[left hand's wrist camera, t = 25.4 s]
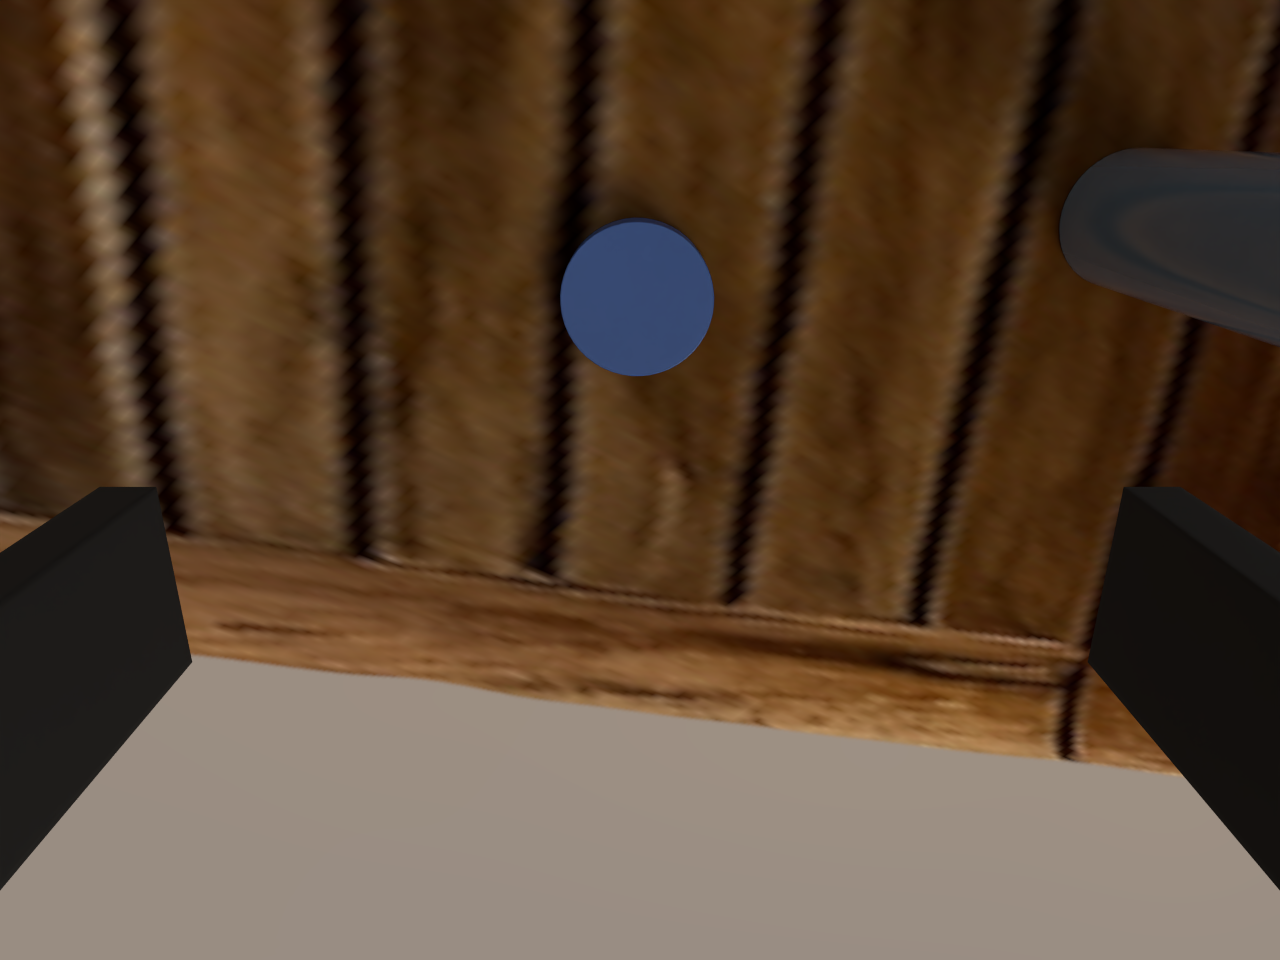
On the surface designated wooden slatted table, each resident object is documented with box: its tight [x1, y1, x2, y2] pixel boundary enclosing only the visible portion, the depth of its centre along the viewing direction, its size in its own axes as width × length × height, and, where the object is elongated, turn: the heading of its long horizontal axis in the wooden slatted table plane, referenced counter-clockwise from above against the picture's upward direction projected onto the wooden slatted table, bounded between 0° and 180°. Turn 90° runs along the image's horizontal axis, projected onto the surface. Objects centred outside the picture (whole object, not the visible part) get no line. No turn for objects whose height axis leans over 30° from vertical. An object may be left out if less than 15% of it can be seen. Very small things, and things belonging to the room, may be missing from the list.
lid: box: [560, 218, 714, 376], centre depth 36 cm, size 6×6×2 cm
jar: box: [1059, 148, 1280, 347], centre depth 29 cm, size 5×5×15 cm
